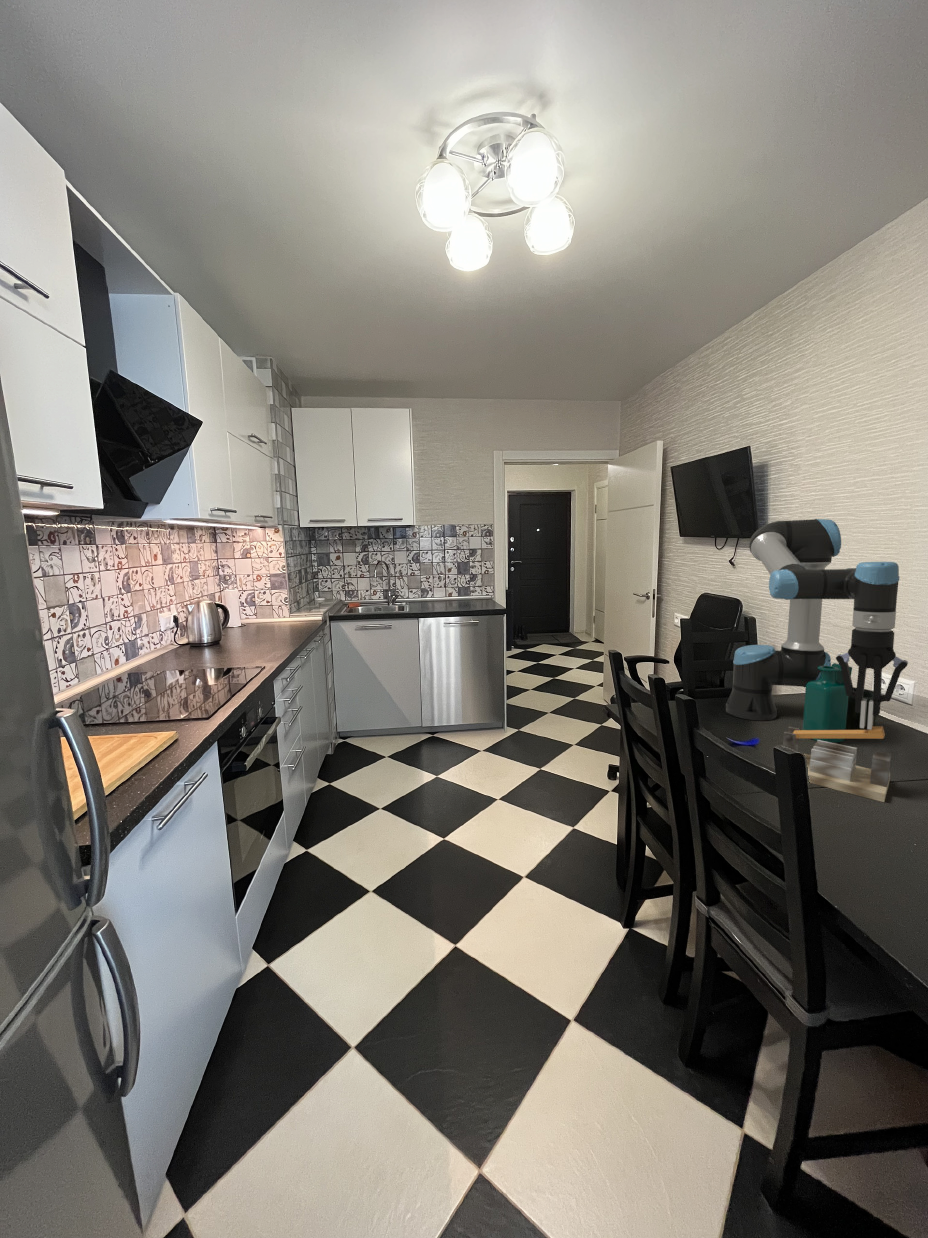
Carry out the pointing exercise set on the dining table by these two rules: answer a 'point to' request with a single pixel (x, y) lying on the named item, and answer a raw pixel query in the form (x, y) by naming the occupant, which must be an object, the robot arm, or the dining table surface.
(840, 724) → the pitcher
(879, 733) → the wooden stick
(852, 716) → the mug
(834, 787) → the clear acrylic stand
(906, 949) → the dining table surface
